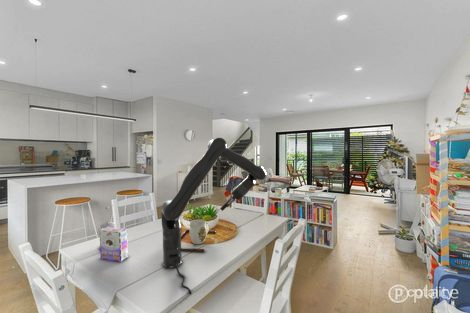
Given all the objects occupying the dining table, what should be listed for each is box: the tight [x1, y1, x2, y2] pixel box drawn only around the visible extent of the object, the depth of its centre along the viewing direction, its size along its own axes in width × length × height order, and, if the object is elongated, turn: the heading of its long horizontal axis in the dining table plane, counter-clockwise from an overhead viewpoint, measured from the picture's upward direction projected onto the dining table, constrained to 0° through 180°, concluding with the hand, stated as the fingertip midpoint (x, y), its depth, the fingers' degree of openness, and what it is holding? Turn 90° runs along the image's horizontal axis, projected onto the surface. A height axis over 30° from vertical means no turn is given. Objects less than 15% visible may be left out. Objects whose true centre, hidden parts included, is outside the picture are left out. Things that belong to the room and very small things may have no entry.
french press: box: [97, 206, 116, 237], centre depth 134 cm, size 10×12×25 cm
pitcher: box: [187, 218, 210, 245], centre depth 141 cm, size 11×18×14 cm, turn 142°
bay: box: [181, 228, 217, 253], centre depth 143 cm, size 22×29×2 cm
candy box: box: [98, 226, 129, 263], centre depth 121 cm, size 14×6×16 cm, turn 74°
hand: (221, 209), depth 139 cm, fingers closed
